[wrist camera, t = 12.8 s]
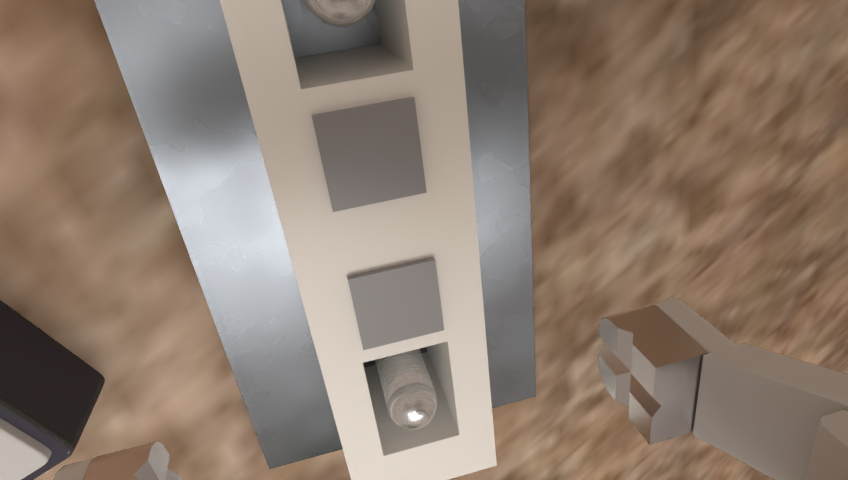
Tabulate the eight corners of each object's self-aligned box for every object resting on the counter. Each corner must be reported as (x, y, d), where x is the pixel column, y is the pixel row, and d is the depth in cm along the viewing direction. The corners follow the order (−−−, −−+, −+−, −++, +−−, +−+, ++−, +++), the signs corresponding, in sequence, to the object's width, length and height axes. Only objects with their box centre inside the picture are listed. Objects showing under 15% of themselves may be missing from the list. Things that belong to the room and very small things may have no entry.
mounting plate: (501, -306, 14) (639, -469, 9) (527, 381, 26) (594, 494, 20) (5, -274, 13) (-203, -453, 7) (269, 450, 24) (267, 595, 19)
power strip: (390, -210, 14) (437, -281, 10) (459, 381, 23) (498, 470, 19) (187, -192, 13) (146, -260, 9) (344, 411, 23) (359, 510, 19)
